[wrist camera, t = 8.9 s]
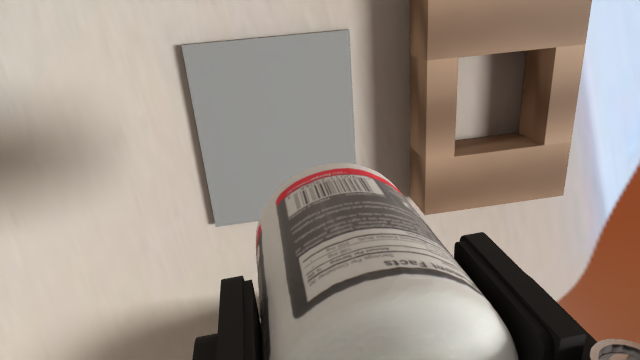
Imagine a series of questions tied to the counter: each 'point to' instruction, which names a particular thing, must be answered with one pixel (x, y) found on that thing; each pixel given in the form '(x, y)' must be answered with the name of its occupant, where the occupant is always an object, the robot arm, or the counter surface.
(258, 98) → the rubber mat
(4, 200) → the counter surface
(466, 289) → the pill bottle
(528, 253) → the counter surface
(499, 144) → the pocket block
